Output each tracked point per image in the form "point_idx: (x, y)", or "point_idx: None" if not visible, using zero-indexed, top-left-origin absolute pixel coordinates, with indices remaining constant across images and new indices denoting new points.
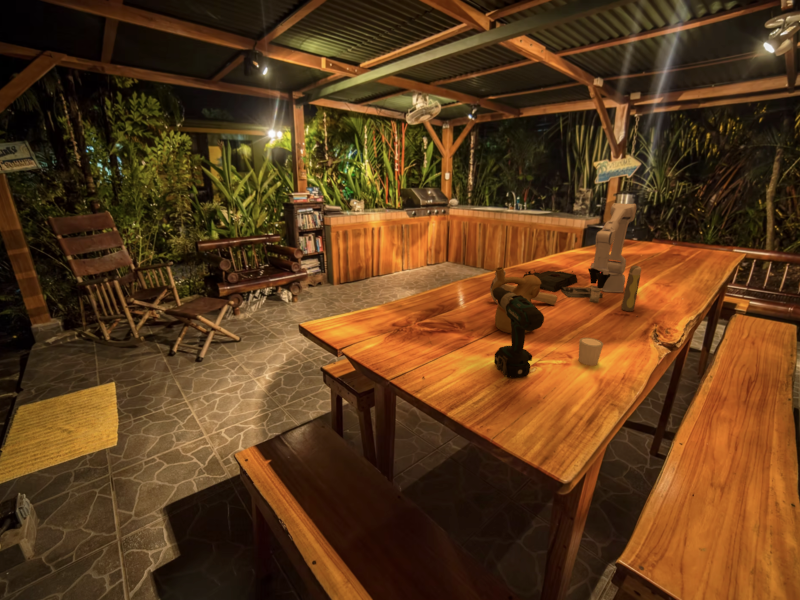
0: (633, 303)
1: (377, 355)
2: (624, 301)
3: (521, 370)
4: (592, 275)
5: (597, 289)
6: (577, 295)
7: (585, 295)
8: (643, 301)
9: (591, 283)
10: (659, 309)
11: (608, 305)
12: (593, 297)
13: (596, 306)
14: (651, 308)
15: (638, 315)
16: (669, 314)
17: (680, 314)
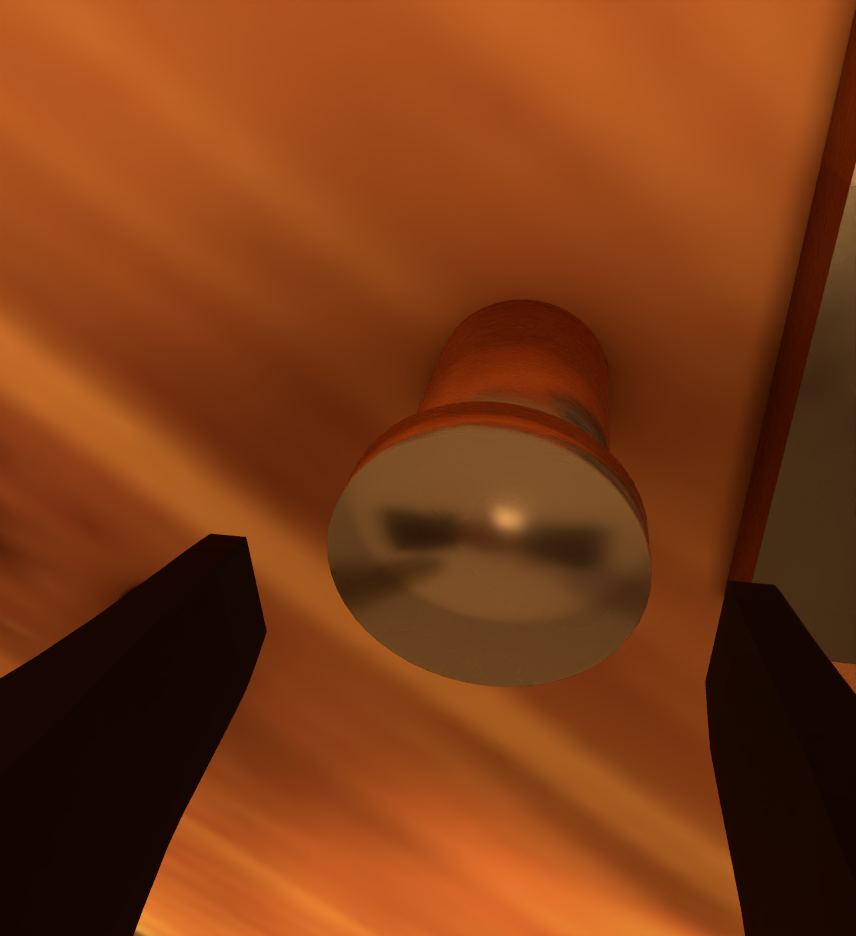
0: None
1: None
2: None
3: None
4: (813, 860)
5: (329, 527)
6: (847, 118)
7: (802, 329)
8: (553, 912)
9: (728, 584)
10: (296, 883)
11: (326, 512)
12: (435, 378)
13: (225, 304)
14: (312, 850)
15: (23, 644)
16: (168, 868)
17: (197, 923)
